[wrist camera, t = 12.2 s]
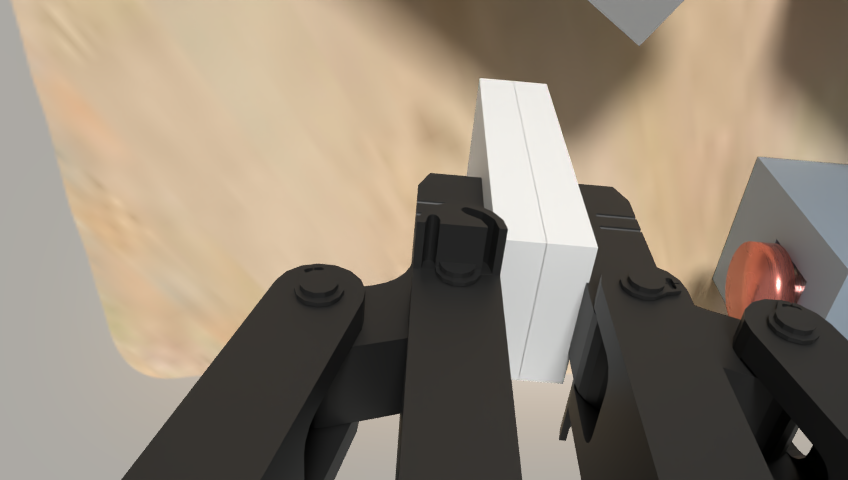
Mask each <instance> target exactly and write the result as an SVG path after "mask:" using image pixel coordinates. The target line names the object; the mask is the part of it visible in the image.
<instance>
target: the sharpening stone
mask: <svg viewBox="0 0 848 480" xmlns="http://www.w3.org/2000/svg"><path fill="white" fill-rule="evenodd" d="M588 1H589V2H590V3H591V4H592V5H593V6H595V7H596V8H597V9H598V10H599V11H600V12H601V13H602V14H604V15H605V16H606V17H607V18H608V19H609V20H610V21H611V22H613V23H614V24H615V25H616V26H617V27H618V28H619V29H620V30H622V31H623V32H624V33H625V34H626V35H627V36H628V37H629V38H631V39H632V40H633V41H634V42H635V43H636V44H637V45H638V46H640V45H641V44H642V43H643V42H644V41H645V40H646V39H647V38H648V37H649V36H650V35H651V34H652V33H653V32H654V31H655V30H656V29H657V28H658V27H659V26H660V24H661V23H662V22H663V21H664V20H665V19H666V18H667V17H668V16H669V15H670V14H671V13H672V12H673V11H674V10H675V9H676V8H677V7H678V6H679V5H680V4H681V3H682V2H683V1H684V0H588Z"/></svg>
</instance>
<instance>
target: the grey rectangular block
mask: <svg viewBox="0 0 848 480" xmlns="http://www.w3.org/2000/svg"><path fill="white" fill-rule="evenodd" d="M748 241H753V242H765V243H776V244H779V245H781V246H782V247H784V248H785V250H786V251H787V252H788V254H789V256H790V258H791V261H792V264H793V267H797V269H798V270H799V272H800V273H801V274H802V276H803V277H804V279H805V280H806V282H807V283H806V286H805V288H804V290H803V292H802V294H801V296H800V298H799V301H798V303H797V304H799V305H801V306H803V307H805V308H807V309H809V310H811V311H813V312H815V313H817V314H818V315H820V316H821V317H822V318H824V319H825V320H826V321H828V322H829V323H830V324H832V325H833V326H834V327H835V328H836V329H837V330H838V331H839V332H840V333H841V334H842V335H843V336H844V337H845V338H846V339H847V340H848V165H846V164H835V163H823V162H812V161H801V160H789V159H778V158H766V157H758V158H757V160H756V163H755V166H754V168H753V171H752V174H751V176H750V179H749V182H748V185H747V187H746V190H745V193H744V195H743V198H742V201H741V203H740V206H739V209H738V211H737V214H736V217H735V219H734V222H733V225H732V228H731V230H730V233H729V236H728V238H727V241H726V244H725V246H724V249H723V252H722V254H721V257H720V260H719V263H718V265H717V268H716V271H715V273H714V276H713V281H714V283H715V285H716V286H717V288H718V290H719V292H720V294H721V296H722V298H723V300H724V302H725V304H726V299H725V286H726V277H727V272H728V268H729V265H730V262H731V259H732V257H733V255H734V253H735V252H736V250H737V249H738V248H739V246H740V245H742V244H743V243H745V242H748Z"/></svg>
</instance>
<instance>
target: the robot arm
mask: <svg viewBox="0 0 848 480" xmlns="http://www.w3.org/2000/svg"><path fill="white" fill-rule="evenodd" d="M640 230H641V229H640V226H639V224H638V222H637V220H635V214H634V212H633V210H632V207H631V205H630V203H629V201H628V200H627V199H626V198H625V197H623V196H622V195H621V194H620V193H619V192H618V191H617V190H616V189H614V188H613V187H607V186H596V185H584V184H578V182H577V179H576V176H575V173H574V170H573V166H572V163H571V160H570V157H569V154H568V150H567V147H566V144H565V141H564V138H563V135H562V131H561V128H560V125H559V122H558V119H557V115H556V112H555V109H554V106H553V103H552V99H551V96H550V93H549V90H548V87H547V84H541V83H530V82H519V81H508V80H497V79H485V78H479V86H478V93H477V101H476V109H475V116H474V124H473V132H472V140H471V147H470V155H469V163H468V170H467V176H458V175H446V174H435V173H430V174H429V175H428V176H427V177H426V178H425V179H424V180H423V181H422V182H421V183H420V184H419V185H418V195H417V206H416V217H415V229H414V240H413V251H412V264H411V266H410V268H409V269H408V270H407V271H406V273H404V274H403V275H401V276H400V277H398V278H397V279H394V280H392V281H389V282H387V283H382V284H377V285H372V286H363V283H362V281H361V279H360V278H358V277H357V276H356V275H355V274H353V273H352V272H351V271H349V270H346V269H344V268H341V267H338V266H336V265H326V264H312V265H303V266H299V267H297V268H294V269H292V270H289V271H286V272H285V273H284V274H283V275H282V276H280V277H279V278H278V279H277V280H276V281H275V282H274V283H273V284H272V286H271V287H270V288H269V290H268V291H267V292H266V294H265V295H264V296H263V297H262V299H261V300H260V301H259V303H258V304H257V305H256V306H255V308H254V309H253V310H252V312H251V313H250V314H249V315H248V317H247V318H246V319H245V321H244V322H243V323H242V325H241V326H240V327H239V328H238V330H237V331H236V332H235V334H234V335H233V336H232V337H231V339H230V340H229V341H228V343H227V344H226V345H225V346H224V348H223V349H222V350H221V352H220V353H219V354H218V356H217V357H216V358H215V359H214V361H213V362H212V363H211V365H210V366H209V367H208V368H207V370H206V371H205V372H204V374H203V375H202V376H201V377H200V379H199V380H198V381H197V383H196V384H195V385H194V387H193V388H192V389H191V391H190V392H189V393H188V394H187V396H186V397H185V398H184V399H183V401H182V402H181V403H180V405H179V406H178V407H177V408H176V410H175V411H174V413H173V414H172V415H171V416H170V418H169V419H168V420H167V422H166V423H165V424H164V425H163V427H162V428H161V429H160V431H159V432H158V433H157V434H156V436H155V437H154V438H153V440H152V441H151V442H150V443H149V445H148V446H147V447H146V449H145V450H144V451H143V452H142V454H141V455H140V456H139V458H138V459H137V460H136V461H135V463H134V464H133V465H132V467H131V468H130V469H129V470H128V472H127V473H126V474H125V476H124V477H123V478H122V480H334V479H335V477H336V475H337V472H338V471H339V468H340V466H341V464H342V462H343V460H344V457H345V456H346V453H347V451H348V449H349V447H350V445H351V443H352V440H353V438H354V436H355V434H356V432H357V428H358V423H359V421H363V420H368V419H374V418H379V417H384V416H389V415H395V414H400V422H399V436H398V437H399V438H398V450H397V464H396V479H395V480H522V474H521V465H520V456H519V447H518V437H517V427H516V418H515V410H514V400H513V391H512V381H511V380H523V381H535V382H547V383H560V384H563V382H564V378H565V374H566V370H567V366H568V363H569V359H570V364H571V369H572V374H573V383H572V387H571V390H570V394H569V398H568V401H567V405H566V409H565V413H564V417H563V420H562V424H561V428H560V435H559V440H565V441H566V438H567V434H568V431H569V428H570V427H571V426H572V432H573V437H574V443H575V448H576V453H577V459H578V464H579V469H580V475H581V480H848V340H847V339H846V338H845V337H844V336H843V335H842V334H841V333H840V332H839V331H838V330H837V329H836V328H835V327H834V326H833V325H832V324H830V323H829V322H828V321H826V320H825V319H824V318H822V317H821V316H820V315H818V314H817V313H815V312H813V311H811V310H809V309H807V308H805V307H803V306H801V305H799V304H796V303H793V302H792V303H790V302H788V301H783V300H773V299H763V300H759V301H755V302H752V303H751V304H750V305H749V306H748V307H747V308H746V309H745V310H744V313H743V315H742V317H741V320H740V319H737V318H733V317H730V316H726V315H723V314H719V313H716V312H712V311H709V310H706V309H703V308H700V307H697V306H695V305H694V304H693V301H692V299H691V297H690V295H689V293H688V291H687V289H686V288H685V287H684V285H683V284H682V283H681V281H680V280H678V279H677V278H676V277H674V276H673V275H671V274H670V273H668V272H667V271H664V270H662V269H659V268H657V267H656V264H655V262H654V260H653V257H652V255H651V253H650V250H649V248H648V245H647V243H646V241H645V238H644V236H643V234H642V232H640ZM798 428H800V430H801V431H802V432H803V433H804V434H805V436H806V437H807V438H808V439H809V440H810V442H811V443H812V444H813V446H812V448H811V450H810V452H809V453H808V454H807V455H806V456H805V455H803V454H802V453H801V452H800V451H799V450H798V449H797V448H796V446H795V445H794V444H793V443H792V440H793V438H794V436H795V434H796V432H797V430H798Z"/></svg>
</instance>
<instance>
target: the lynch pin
mask: <svg viewBox="0 0 848 480" xmlns="http://www.w3.org/2000/svg"><path fill="white" fill-rule="evenodd" d="M806 283H807V282H806V280H805V279H804V277H803V276H802V274H801V273H800V272H799V270H798V269H797V267H793V264H792V261H791V258H790V256H789V254H788V252H787V251H786V250H785V248H784V247H782V246H781V245H779V244H776V243H765V242H753V241H748V242H745V243H743V244H742V245H740V246H739V248H738V249H737V250H736V252H735V253H734V255H733V257H732V259H731V262H730V265H729V268H728V272H727V277H726V286H725V299H726V307H727V312H728V316H730V317H733V318H737V319H740V320H741V317H742V315H743V313H744V310H745V309H746V308H747V307H748V306H749V305H750V304H751V303H752V302H755V301H759V300H763V299H773V300H783V301H788V302H790V303H792V302H793V303H796V304H797V303H798V301H799V298H800V296H801V294H802V292H803V290H804V288H805V286H806Z"/></svg>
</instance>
